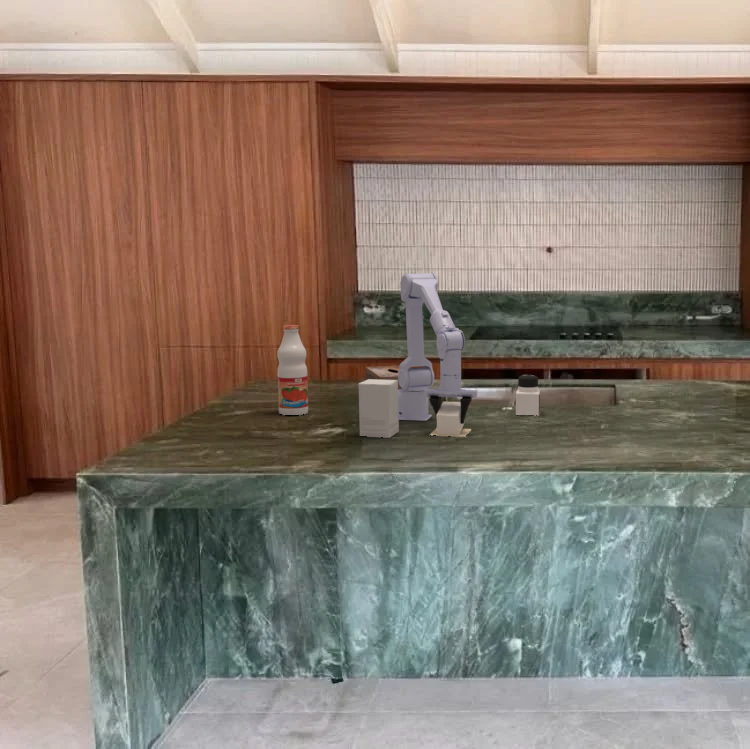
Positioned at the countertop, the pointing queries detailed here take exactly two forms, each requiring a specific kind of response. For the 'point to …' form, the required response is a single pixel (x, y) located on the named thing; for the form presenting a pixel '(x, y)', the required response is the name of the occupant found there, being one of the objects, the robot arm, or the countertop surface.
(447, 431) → the white rectangular prism
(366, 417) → the supplement box
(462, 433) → the mark
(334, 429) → the countertop surface
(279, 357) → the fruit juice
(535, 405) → the medicine bottle
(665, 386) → the countertop surface
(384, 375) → the tissue box cover
